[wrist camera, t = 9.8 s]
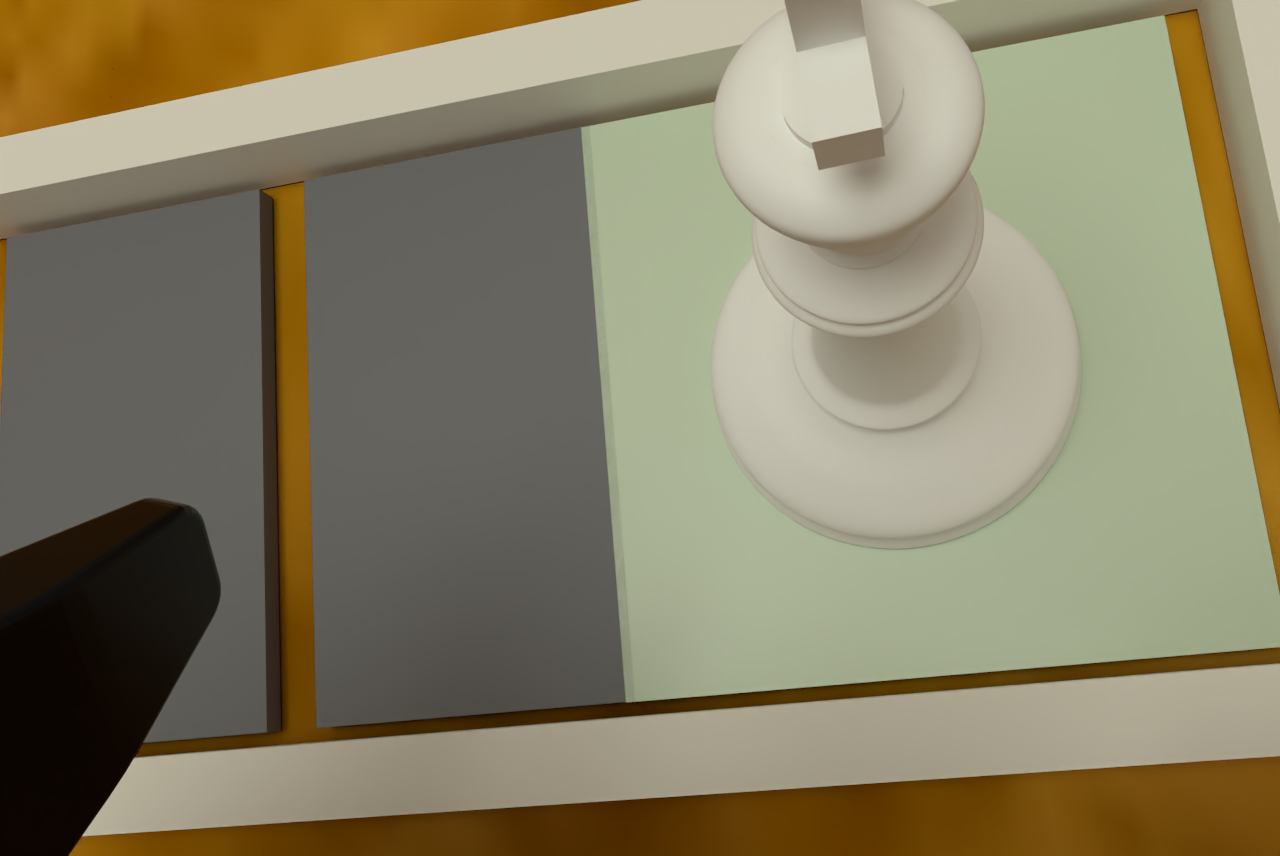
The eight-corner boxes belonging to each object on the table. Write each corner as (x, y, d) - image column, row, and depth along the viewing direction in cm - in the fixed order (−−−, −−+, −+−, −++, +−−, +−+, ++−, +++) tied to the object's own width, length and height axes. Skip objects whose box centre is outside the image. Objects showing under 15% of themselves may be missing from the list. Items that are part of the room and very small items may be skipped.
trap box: (-478, 866, 21) (-581, 881, 20) (-409, 269, 23) (-496, 243, 22) (1438, 735, 15) (1493, 741, 13) (1259, -70, 17) (1288, -138, 16)
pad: (632, 701, 17) (626, 703, 17) (588, 138, 19) (581, 127, 18) (1280, 647, 15) (1289, 646, 15) (1158, 30, 17) (1164, 15, 17)
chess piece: (1041, 166, 17) (1167, -515, 7) (1115, 518, 15) (1386, 270, 6) (693, 239, 18) (396, -273, 8) (739, 574, 17) (457, 436, 7)
